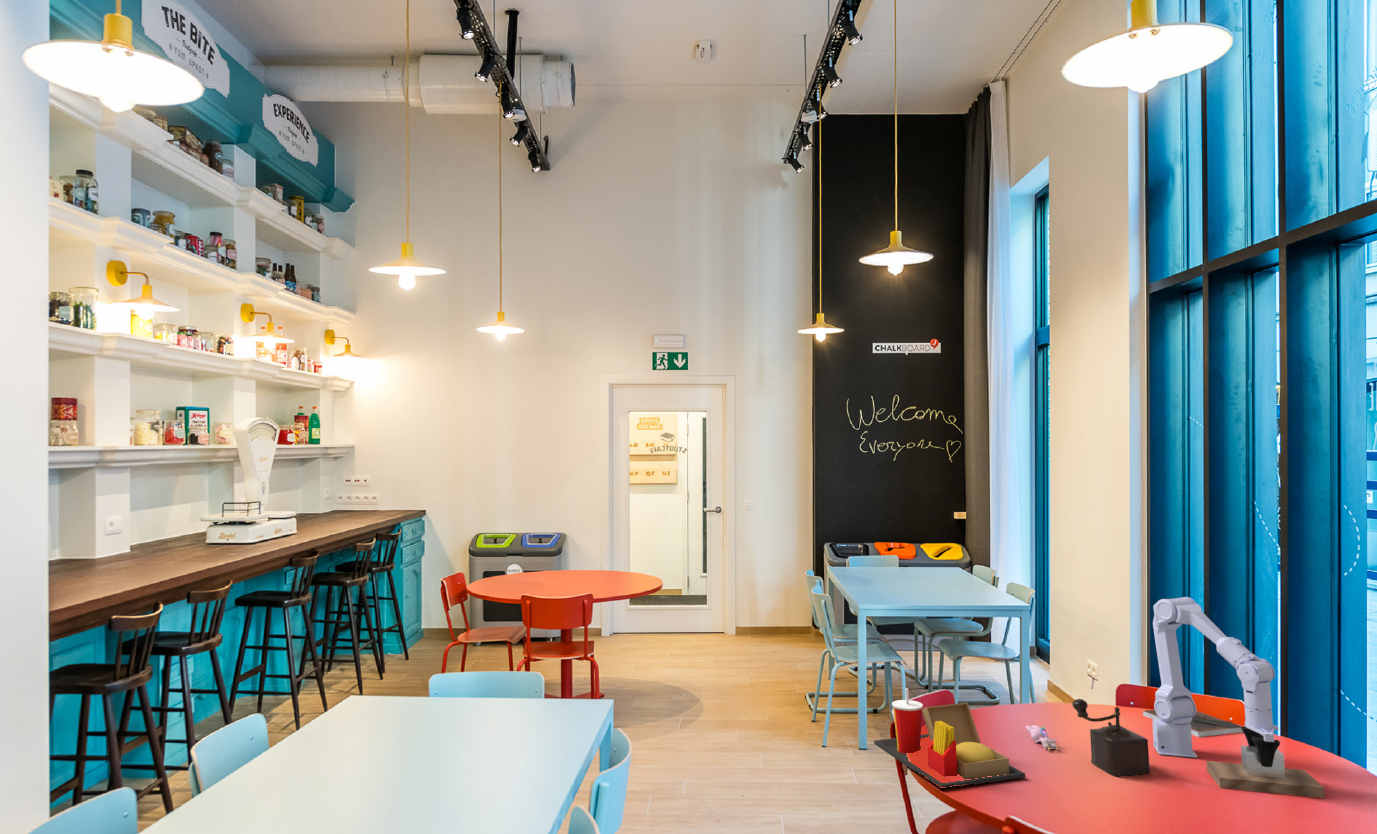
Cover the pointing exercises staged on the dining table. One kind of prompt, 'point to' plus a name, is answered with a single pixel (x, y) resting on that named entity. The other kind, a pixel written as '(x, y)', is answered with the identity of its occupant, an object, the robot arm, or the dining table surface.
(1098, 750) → the dark brown coffee grinder
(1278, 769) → the aluminium block
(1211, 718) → the picture frame
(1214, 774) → the walnut plinth
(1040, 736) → the unicorn plush toy
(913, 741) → the fast food meal
